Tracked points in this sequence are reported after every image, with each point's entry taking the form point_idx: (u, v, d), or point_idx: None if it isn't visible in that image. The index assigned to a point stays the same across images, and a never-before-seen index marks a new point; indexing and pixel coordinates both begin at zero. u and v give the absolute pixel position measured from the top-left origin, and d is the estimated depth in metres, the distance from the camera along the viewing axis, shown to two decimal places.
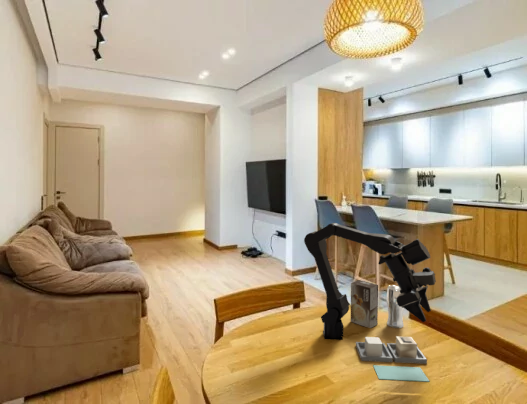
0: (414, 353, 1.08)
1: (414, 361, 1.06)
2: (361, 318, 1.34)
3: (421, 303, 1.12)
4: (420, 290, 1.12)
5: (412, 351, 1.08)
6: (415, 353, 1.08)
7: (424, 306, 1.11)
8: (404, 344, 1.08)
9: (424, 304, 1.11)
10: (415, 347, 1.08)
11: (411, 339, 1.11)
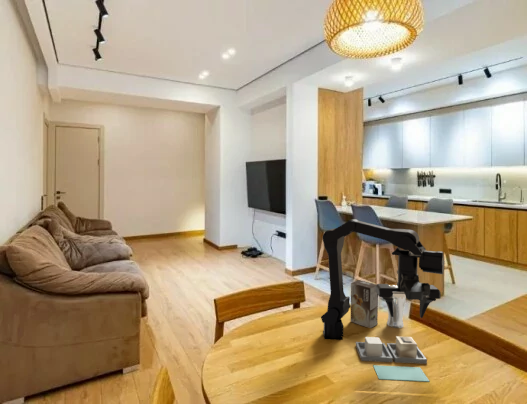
0: (414, 353, 1.08)
1: (414, 361, 1.06)
2: (361, 318, 1.34)
3: (420, 306, 1.10)
4: (424, 297, 1.08)
5: (412, 351, 1.08)
6: (415, 353, 1.08)
7: (420, 310, 1.10)
8: (404, 344, 1.08)
9: (421, 309, 1.10)
10: (415, 347, 1.08)
11: (411, 339, 1.11)
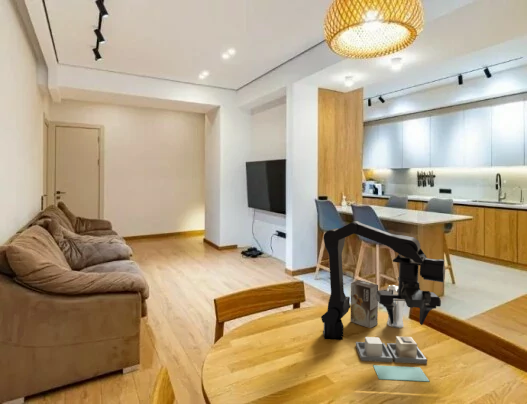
0: (414, 353, 1.08)
1: (414, 361, 1.06)
2: (361, 318, 1.34)
3: (420, 314, 1.11)
4: (425, 304, 1.09)
5: (412, 351, 1.08)
6: (415, 353, 1.08)
7: (420, 317, 1.10)
8: (404, 344, 1.08)
9: (421, 316, 1.10)
10: (415, 347, 1.08)
11: (411, 339, 1.11)
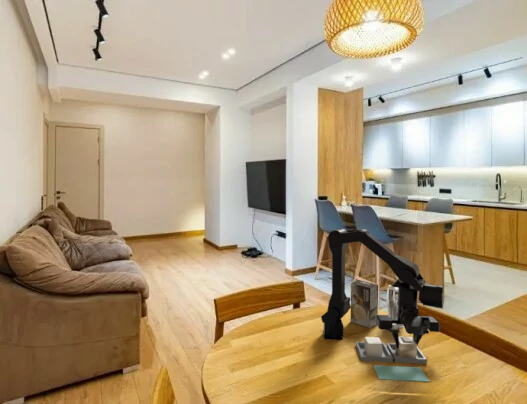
0: (414, 353, 1.08)
1: (414, 361, 1.06)
2: (361, 318, 1.34)
3: (413, 338, 1.11)
4: None
5: (412, 351, 1.08)
6: (415, 353, 1.08)
7: None
8: (404, 344, 1.08)
9: None
10: (415, 347, 1.08)
11: (411, 339, 1.11)
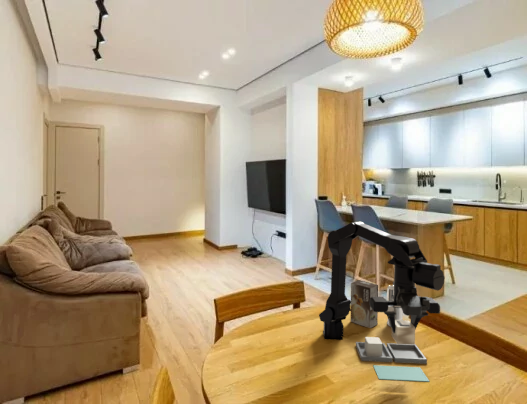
0: (412, 337, 0.98)
1: (414, 361, 1.06)
2: (361, 318, 1.34)
3: (411, 321, 1.01)
4: None
5: (410, 335, 0.98)
6: (413, 337, 0.98)
7: None
8: (401, 327, 0.98)
9: (412, 324, 1.01)
10: (414, 331, 0.98)
11: (409, 322, 1.01)
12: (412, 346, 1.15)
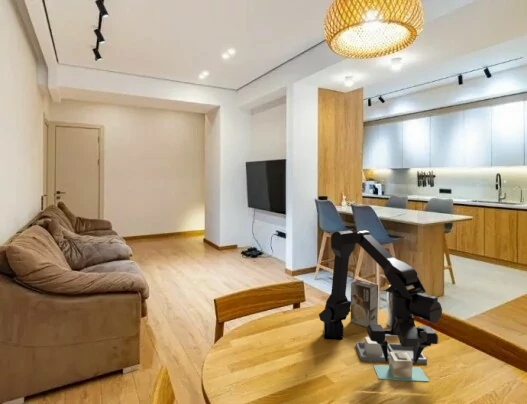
0: (409, 371, 0.98)
1: None
2: (361, 318, 1.34)
3: (414, 350, 1.01)
4: None
5: (408, 369, 0.98)
6: (410, 371, 0.98)
7: (414, 355, 1.00)
8: (398, 361, 0.98)
9: (415, 353, 1.00)
10: (411, 365, 0.98)
11: (406, 355, 1.01)
12: None
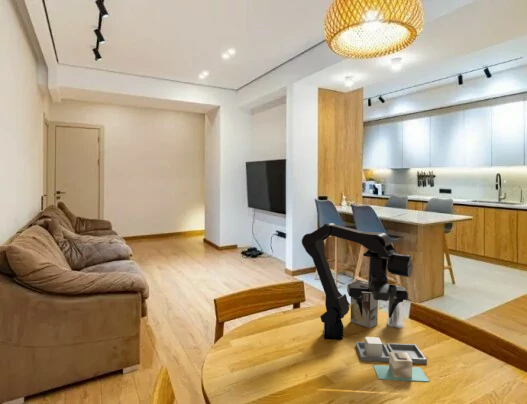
0: (409, 371, 0.98)
1: (414, 361, 1.06)
2: (361, 318, 1.34)
3: (389, 307, 1.14)
4: (393, 298, 1.12)
5: (408, 369, 0.98)
6: (410, 371, 0.98)
7: (389, 310, 1.14)
8: (398, 361, 0.98)
9: (390, 309, 1.14)
10: (411, 365, 0.98)
11: (406, 355, 1.01)
12: (412, 346, 1.15)
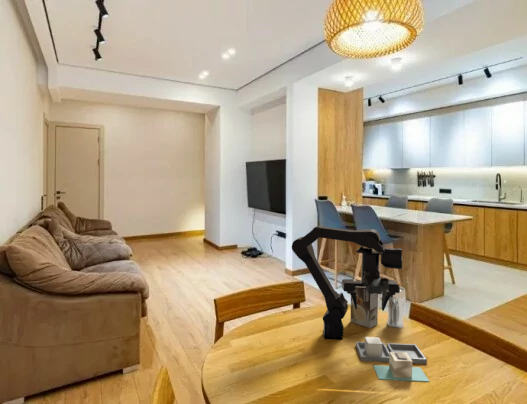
0: (409, 371, 0.98)
1: (414, 361, 1.06)
2: (361, 318, 1.34)
3: (382, 300, 1.19)
4: (385, 291, 1.17)
5: (408, 369, 0.98)
6: (410, 371, 0.98)
7: (382, 304, 1.19)
8: (398, 361, 0.98)
9: (383, 303, 1.19)
10: (411, 365, 0.98)
11: (406, 355, 1.01)
12: (412, 346, 1.15)
